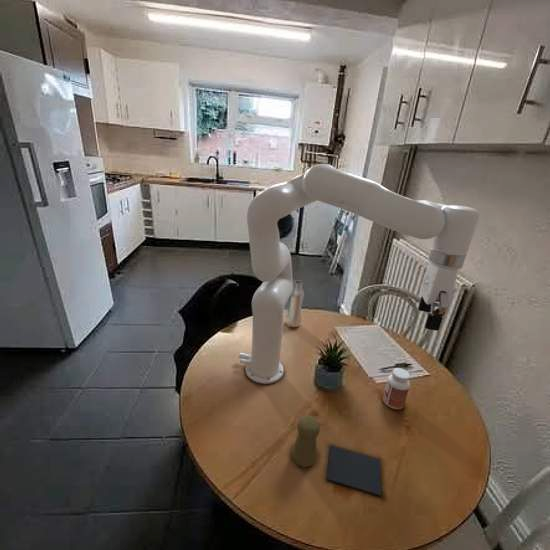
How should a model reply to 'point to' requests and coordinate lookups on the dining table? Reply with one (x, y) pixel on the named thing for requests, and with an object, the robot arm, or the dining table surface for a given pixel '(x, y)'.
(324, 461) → the dining table surface
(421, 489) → the dining table surface
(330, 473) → the mat
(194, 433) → the dining table surface
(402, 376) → the pill bottle
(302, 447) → the olive green waisted cylinder
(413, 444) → the dining table surface
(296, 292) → the plastic bottle
